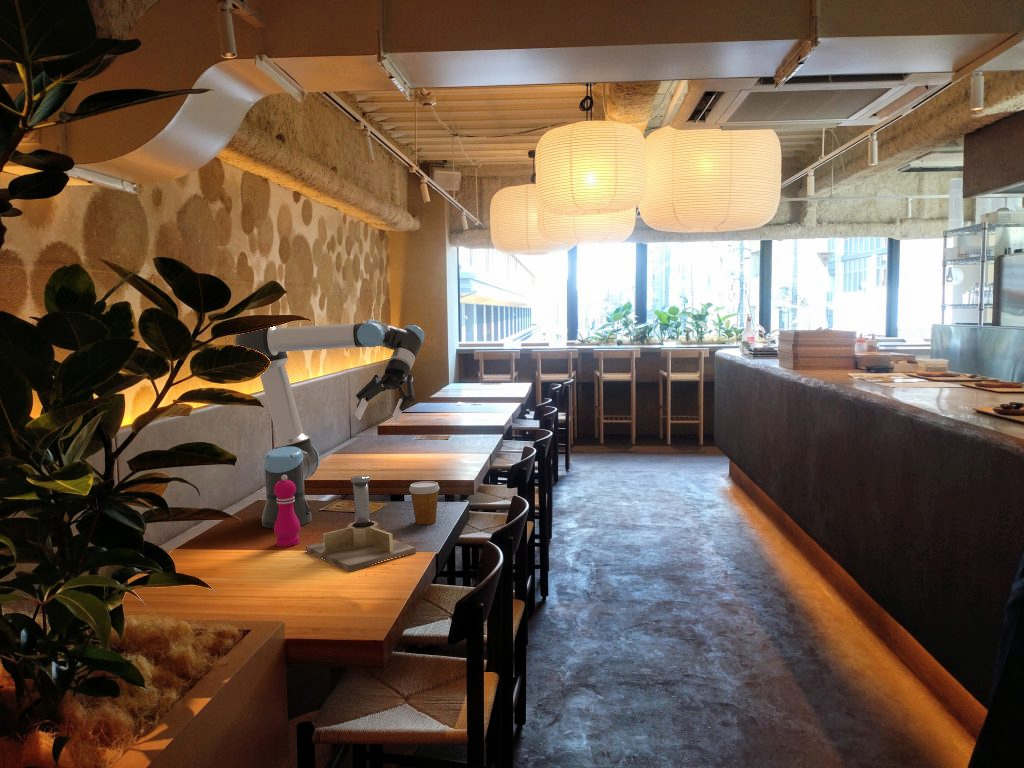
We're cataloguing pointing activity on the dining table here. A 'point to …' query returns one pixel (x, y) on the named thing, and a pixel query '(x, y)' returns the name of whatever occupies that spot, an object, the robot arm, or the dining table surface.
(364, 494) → the pin
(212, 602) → the dining table surface
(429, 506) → the disposable coffee cup
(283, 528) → the pepper mill
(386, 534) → the beige ribbed socket
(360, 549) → the mounting board
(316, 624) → the dining table surface
